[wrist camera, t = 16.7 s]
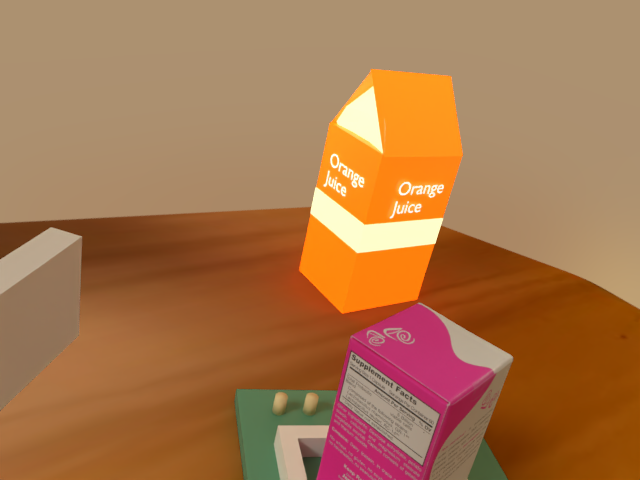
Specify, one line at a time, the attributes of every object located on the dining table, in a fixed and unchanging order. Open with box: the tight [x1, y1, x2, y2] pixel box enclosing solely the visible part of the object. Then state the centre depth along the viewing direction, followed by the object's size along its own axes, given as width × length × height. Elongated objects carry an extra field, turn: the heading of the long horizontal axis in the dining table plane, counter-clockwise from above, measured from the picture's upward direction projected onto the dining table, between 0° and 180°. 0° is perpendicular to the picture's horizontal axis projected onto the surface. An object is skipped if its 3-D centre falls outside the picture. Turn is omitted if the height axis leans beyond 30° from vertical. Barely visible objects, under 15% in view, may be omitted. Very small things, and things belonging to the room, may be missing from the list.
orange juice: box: [299, 69, 463, 313], centre depth 53 cm, size 8×9×20 cm
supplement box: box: [316, 303, 513, 480], centre depth 30 cm, size 6×6×12 cm
